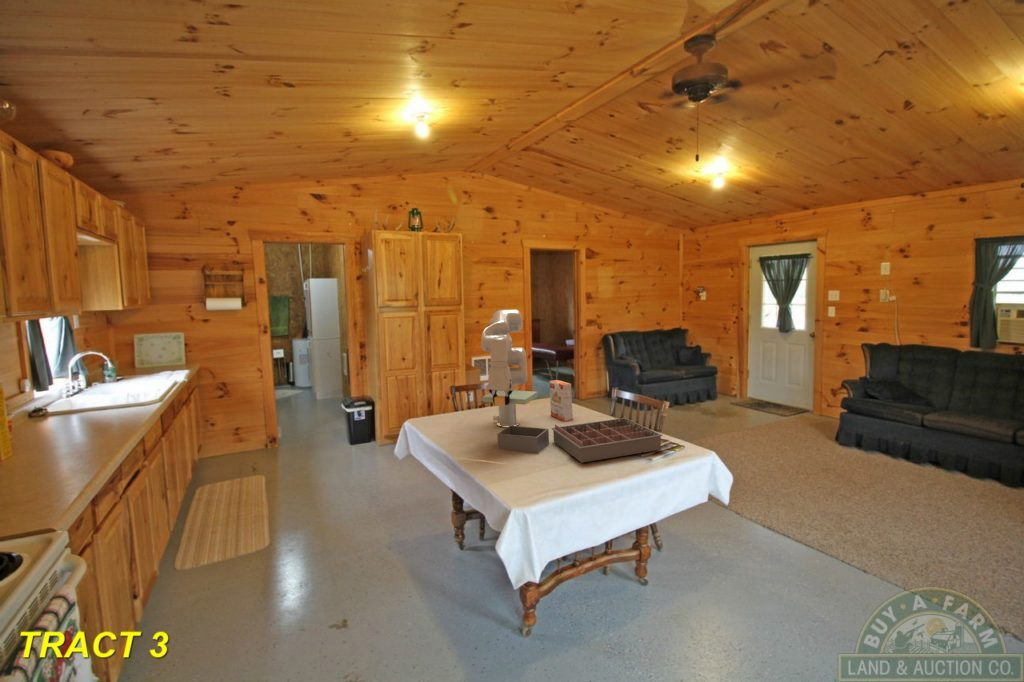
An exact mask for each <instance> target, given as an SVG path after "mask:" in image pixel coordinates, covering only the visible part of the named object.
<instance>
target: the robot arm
mask: <svg viewBox="0 0 1024 682" xmlns="http://www.w3.org/2000/svg"><path fill="white" fill-rule="evenodd" d="M492 316H493V317H492V318H490V319H489V326H487V327H486V328H484V329H483V331H482V333H481V339H480V346H481V350H483V351H484V352H488V353H490V361H488V365H490V367H489V370H488V380H487V381H488V383H487V385H486V386H485V389H486V390H487V391H488V392H489V393H491V394H492V396H493V402H494V403H493V402H492V403H493V405H495V401H494V397H496V396H498V395H497V390H504V392H505V395H506V396H505V406H503V405H497V406H498V407H497V408H498V416H497V415H493V417H492V420H493V421H497V422H498V423H500V425H501V426H510V425H511V426H514V425H517V424H519V425H520V421H519V420H517V404H509V403H510V396H509V395H510V394H511V393H512V392H513V391H514V390H515V391H517V388H516V386H518V385H519V386H520V385H525V384H527V382H528V361H527V360H528V359H527V352H526V350H525V348H524V347H522V346H521V347H520V346H518V347H517V346H516V347H513V339H512V336H511V334H510V333H518V332H521V331H522V330H523V328H524V327H523V326H524V321H523V316H522V313H521V312H520V310H519V309H516V308H513V309H499V310H497V311H495V312H494V313H493V315H492ZM510 366H512V367H510ZM514 366H515V367H514ZM516 366H517V367H516ZM497 422H496V423H497Z"/></svg>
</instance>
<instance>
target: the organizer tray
mask: <svg viewBox="0 0 1024 682" xmlns="http://www.w3.org/2000/svg"><path fill="white" fill-rule="evenodd" d="M550 429H551V430H552V431H553V443H555V444H556V445H558V446H559V447H561V448H562V449H563V451H565V452H567V453H568V454H570V455H571V456H572V457H573V458H575V459H576V460H577V461H579V462H580V463H587V462H592V461H600V460H603V459H604V460H605V459H610V458H611V459H612V458H617V457H618V458H619V457H624V456H629V455H635V454H641V453H642V452H643V453H647V452H654V451H659V450H661V449H662V448H661V447H662V445H661V444H662V442H661V441H662V438H661V437H663V434H661V433H659V432H657V431H654V430H652V429H650V428H648V427H646V426H644V425H642V424H640V423H637V422H635V421H633V420H632V419H629V418H627V417H621V418H613V419H607V420H599V421H592V422H587V423H586V422H585V423H584V422H583V423H579V424H571V425H564V426H559V425H558V424H556V423H555V424H554V427H551V428H550ZM661 451H662V450H661Z"/></svg>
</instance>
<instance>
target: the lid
mask: <svg viewBox="0 0 1024 682" xmlns="http://www.w3.org/2000/svg"><path fill="white" fill-rule="evenodd" d="M497 395H498V396H496V397H494V401H495V404H494V402H493V396H492V394H491V393H490V392H489V393H487V394H485V395H483V396H481V402H482V403H493V404H494V406H498V405H503V406H505V396H506V395H505V392H504V390H497ZM509 396H510V403H509V404H516V405H525V406H526V405H528V403H530V402H532V401H534V400H535V399H536V398H538V397H539V391H534V390H533V391H530V390H529V391H528V390H514V391H513V392H512V393H511V394H510V395H509Z"/></svg>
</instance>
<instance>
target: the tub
mask: <svg viewBox="0 0 1024 682" xmlns="http://www.w3.org/2000/svg"><path fill="white" fill-rule="evenodd" d="M496 435H497V450H503V449H504V451H506V450H507V451H513V452H525V453H531V454H533V453H534V454H539V453H540V452H542V450H544V448H546V447H547V446H548V445H549V444H550V434H549V428H545V427H532V426H523V425H522V426H521V425H520V426H519V425H518V426H511V425H510V426H509V427H504V429H502V430H501V431H499V432H497V434H496Z"/></svg>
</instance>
